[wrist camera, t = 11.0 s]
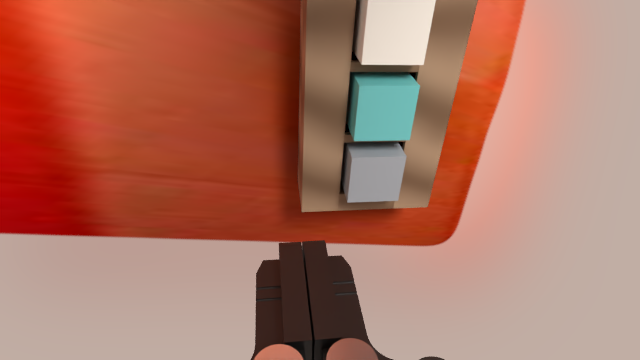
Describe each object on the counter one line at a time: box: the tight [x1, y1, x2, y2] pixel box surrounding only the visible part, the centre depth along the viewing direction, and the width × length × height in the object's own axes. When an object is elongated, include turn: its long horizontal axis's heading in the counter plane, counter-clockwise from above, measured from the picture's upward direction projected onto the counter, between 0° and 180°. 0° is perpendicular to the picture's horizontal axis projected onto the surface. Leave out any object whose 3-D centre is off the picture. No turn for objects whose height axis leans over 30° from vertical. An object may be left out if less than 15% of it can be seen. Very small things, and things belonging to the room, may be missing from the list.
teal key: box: [346, 72, 420, 141], centre depth 32 cm, size 4×4×4 cm
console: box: [298, 0, 478, 212], centre depth 34 cm, size 21×12×5 cm, turn 177°
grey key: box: [341, 142, 406, 203], centre depth 36 cm, size 4×4×4 cm
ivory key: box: [352, 0, 436, 65], centre depth 29 cm, size 4×4×4 cm
